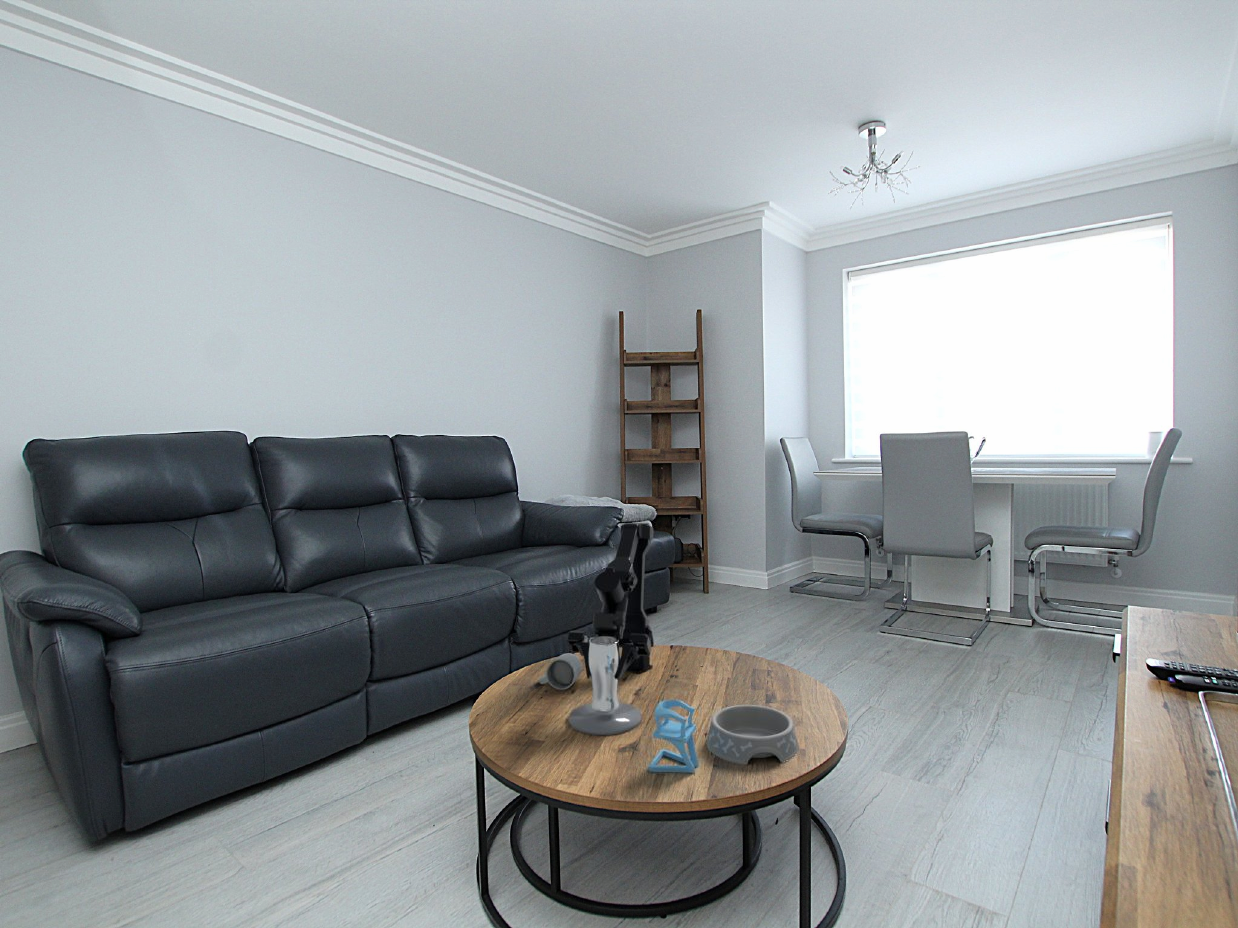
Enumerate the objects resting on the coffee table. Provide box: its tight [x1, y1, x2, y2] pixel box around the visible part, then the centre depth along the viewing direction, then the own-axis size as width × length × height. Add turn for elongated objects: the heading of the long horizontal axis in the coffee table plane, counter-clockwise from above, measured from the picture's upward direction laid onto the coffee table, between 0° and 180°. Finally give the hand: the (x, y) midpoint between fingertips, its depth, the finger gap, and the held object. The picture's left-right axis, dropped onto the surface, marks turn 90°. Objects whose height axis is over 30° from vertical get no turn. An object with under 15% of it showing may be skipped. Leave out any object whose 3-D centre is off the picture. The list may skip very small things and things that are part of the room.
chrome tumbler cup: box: [588, 636, 621, 713], centre depth 151 cm, size 7×7×15 cm
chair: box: [647, 699, 700, 774], centre depth 129 cm, size 8×8×12 cm
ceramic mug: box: [538, 652, 583, 691], centre depth 174 cm, size 11×8×8 cm
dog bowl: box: [706, 704, 800, 766], centre depth 137 cm, size 17×18×5 cm
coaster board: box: [568, 701, 642, 736], centre depth 151 cm, size 16×16×1 cm
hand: (602, 678), depth 150 cm, fingers closed on chrome tumbler cup, 6 cm apart
